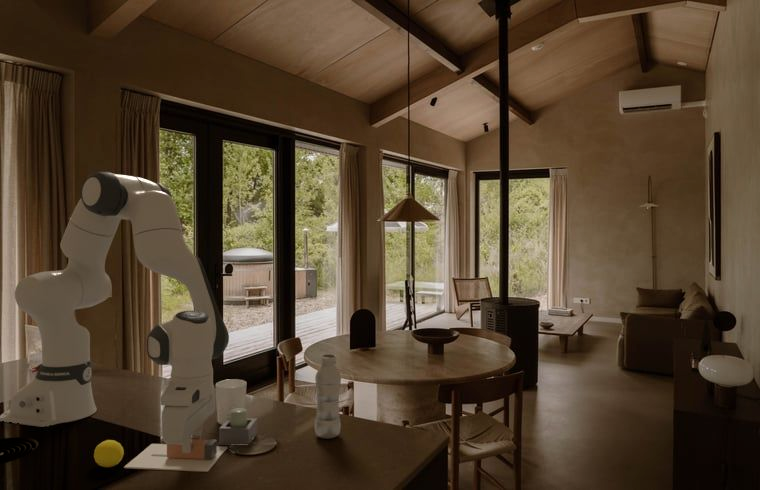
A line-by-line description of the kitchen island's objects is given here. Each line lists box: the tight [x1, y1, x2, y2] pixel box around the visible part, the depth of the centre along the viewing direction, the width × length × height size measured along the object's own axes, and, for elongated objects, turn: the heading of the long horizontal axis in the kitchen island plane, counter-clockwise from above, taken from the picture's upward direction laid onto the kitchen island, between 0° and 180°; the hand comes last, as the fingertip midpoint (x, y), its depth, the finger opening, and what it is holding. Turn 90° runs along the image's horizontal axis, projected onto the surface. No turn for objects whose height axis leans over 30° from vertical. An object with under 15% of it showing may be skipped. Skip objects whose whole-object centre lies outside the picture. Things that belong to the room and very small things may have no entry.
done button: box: [230, 408, 248, 428], centre depth 127 cm, size 4×4×5 cm
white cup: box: [215, 378, 248, 426], centre depth 139 cm, size 8×8×10 cm
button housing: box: [218, 417, 258, 446], centre depth 127 cm, size 7×7×4 cm
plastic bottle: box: [313, 354, 342, 440], centre depth 130 cm, size 6×7×20 cm
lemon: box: [93, 439, 125, 468], centre depth 112 cm, size 7×5×5 cm
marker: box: [167, 438, 218, 459], centre depth 117 cm, size 10×3×3 cm, turn 87°
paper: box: [123, 443, 228, 473], centre depth 117 cm, size 18×12×1 cm, turn 87°
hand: (191, 447), depth 117 cm, fingers closed on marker, 3 cm apart
